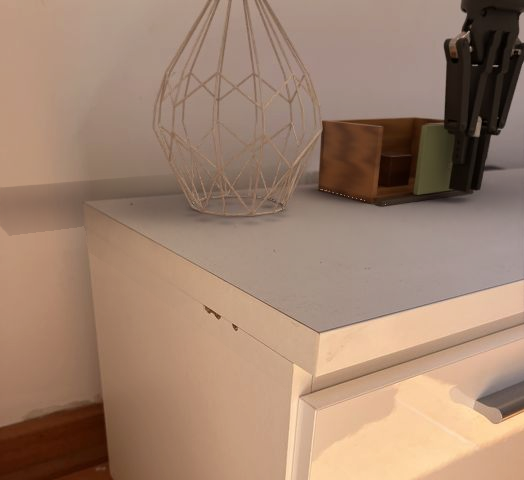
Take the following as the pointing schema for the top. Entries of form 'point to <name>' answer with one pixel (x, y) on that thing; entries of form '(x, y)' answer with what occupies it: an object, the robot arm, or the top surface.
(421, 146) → the sliding door
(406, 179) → the block
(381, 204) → the box
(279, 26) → the table lamp
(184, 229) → the top surface
